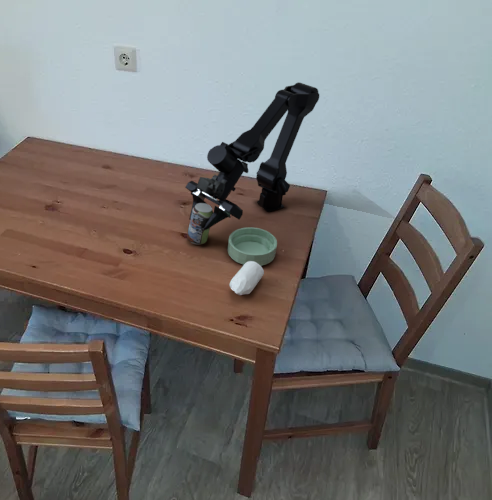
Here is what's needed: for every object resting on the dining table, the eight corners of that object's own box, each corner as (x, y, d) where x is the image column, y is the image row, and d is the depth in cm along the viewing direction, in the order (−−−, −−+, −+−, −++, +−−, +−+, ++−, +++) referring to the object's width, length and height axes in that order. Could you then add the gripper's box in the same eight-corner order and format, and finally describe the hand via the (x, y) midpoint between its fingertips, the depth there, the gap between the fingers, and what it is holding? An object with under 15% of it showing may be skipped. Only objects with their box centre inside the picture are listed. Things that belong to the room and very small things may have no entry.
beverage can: (185, 236, 163) (186, 201, 156) (209, 234, 163) (211, 199, 156) (188, 247, 157) (189, 212, 151) (213, 246, 158) (215, 211, 151)
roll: (223, 298, 140) (224, 282, 136) (242, 273, 148) (244, 257, 144) (244, 306, 137) (246, 290, 134) (263, 281, 145) (265, 264, 142)
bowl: (259, 235, 162) (260, 223, 159) (284, 261, 152) (286, 248, 149) (219, 245, 158) (220, 233, 156) (242, 272, 148) (243, 259, 145)
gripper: (191, 155, 154) (161, 201, 155) (239, 179, 142) (207, 229, 143) (209, 171, 162) (181, 215, 163) (256, 195, 151) (225, 242, 152)
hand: (197, 224), depth 155 cm, fingers closed on beverage can, 6 cm apart
